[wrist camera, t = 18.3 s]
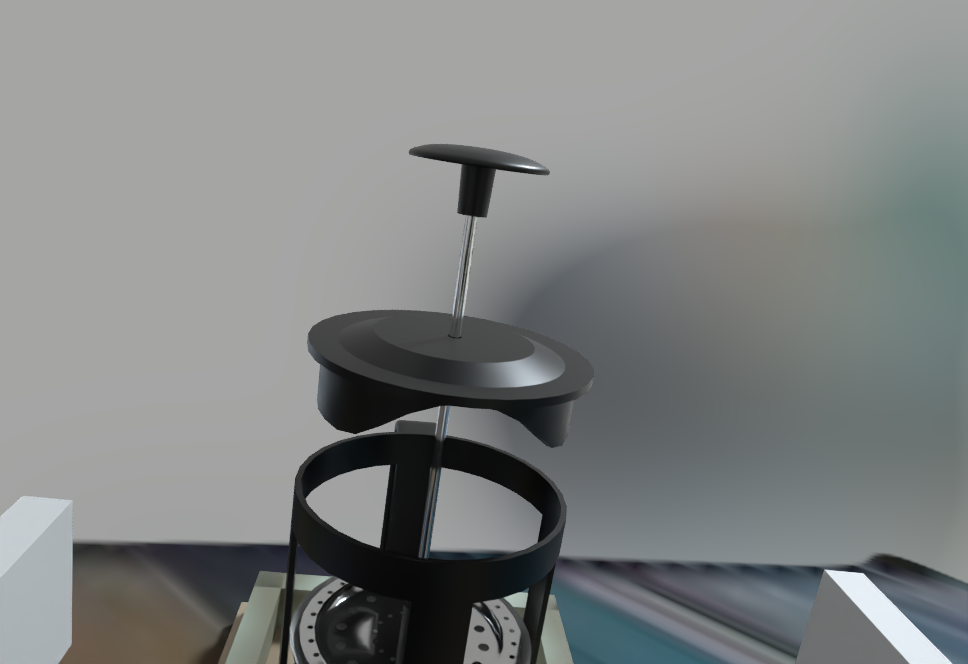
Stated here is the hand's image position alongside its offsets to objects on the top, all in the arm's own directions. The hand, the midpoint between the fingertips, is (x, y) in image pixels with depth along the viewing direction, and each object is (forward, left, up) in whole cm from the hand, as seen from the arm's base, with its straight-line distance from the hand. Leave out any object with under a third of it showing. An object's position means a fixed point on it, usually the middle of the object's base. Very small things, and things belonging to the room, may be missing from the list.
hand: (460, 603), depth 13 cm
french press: (0, +12, -16) cm, 19 cm away
